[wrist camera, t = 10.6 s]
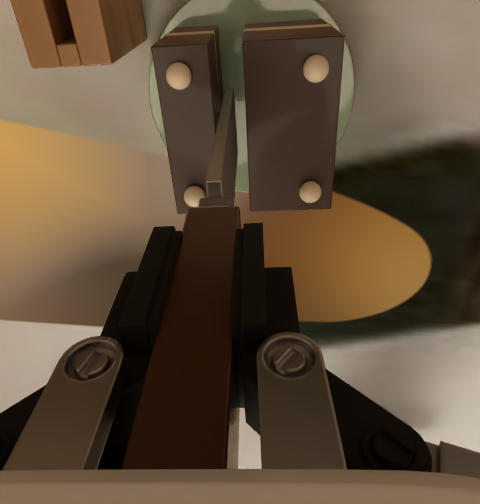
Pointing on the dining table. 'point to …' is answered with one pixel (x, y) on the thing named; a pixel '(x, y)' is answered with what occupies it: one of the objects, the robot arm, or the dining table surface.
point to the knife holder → (79, 30)
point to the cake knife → (196, 334)
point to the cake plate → (231, 51)
